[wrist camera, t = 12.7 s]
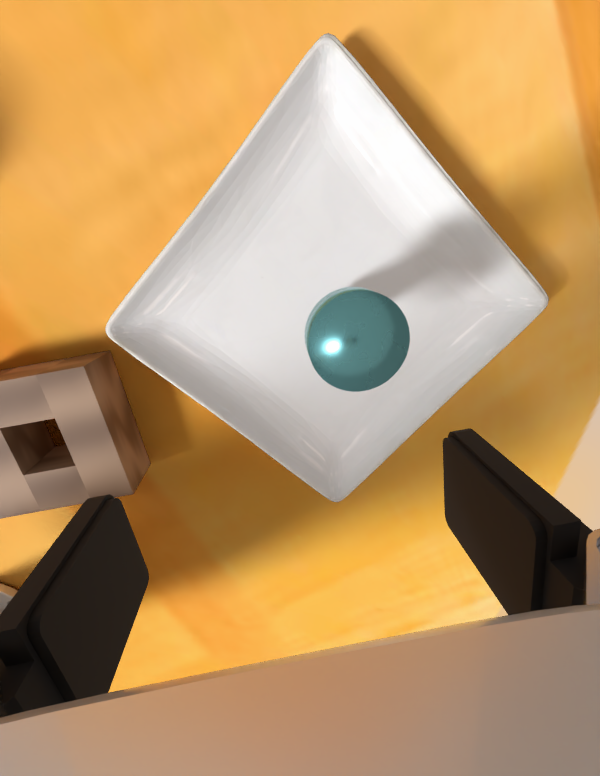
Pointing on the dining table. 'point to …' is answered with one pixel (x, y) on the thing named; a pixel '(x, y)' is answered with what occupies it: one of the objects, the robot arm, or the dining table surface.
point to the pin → (356, 338)
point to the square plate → (326, 278)
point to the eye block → (66, 435)
